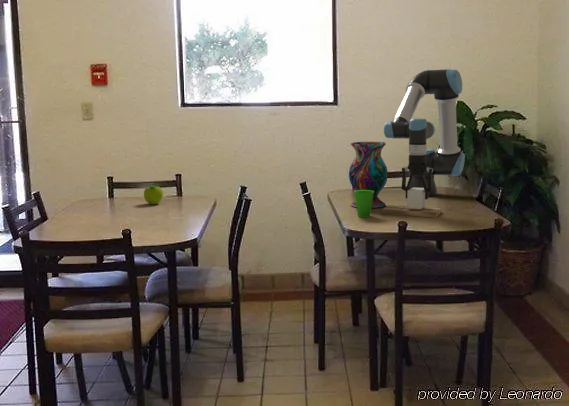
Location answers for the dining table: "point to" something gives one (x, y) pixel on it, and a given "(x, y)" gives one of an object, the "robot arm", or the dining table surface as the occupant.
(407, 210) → the board
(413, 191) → the white cube
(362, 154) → the vase
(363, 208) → the cup
